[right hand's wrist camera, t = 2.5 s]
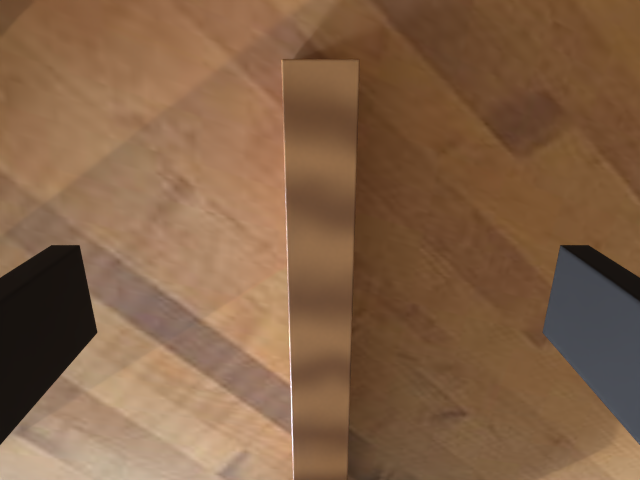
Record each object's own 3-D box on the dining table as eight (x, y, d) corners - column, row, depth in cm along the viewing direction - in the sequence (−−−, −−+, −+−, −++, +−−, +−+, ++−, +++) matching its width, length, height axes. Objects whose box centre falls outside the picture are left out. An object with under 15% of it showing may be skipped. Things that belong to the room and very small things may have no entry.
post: (289, 62, 34) (281, 59, 27) (351, 62, 34) (359, 59, 27) (300, 569, 54) (297, 644, 47) (339, 569, 54) (342, 644, 47)
